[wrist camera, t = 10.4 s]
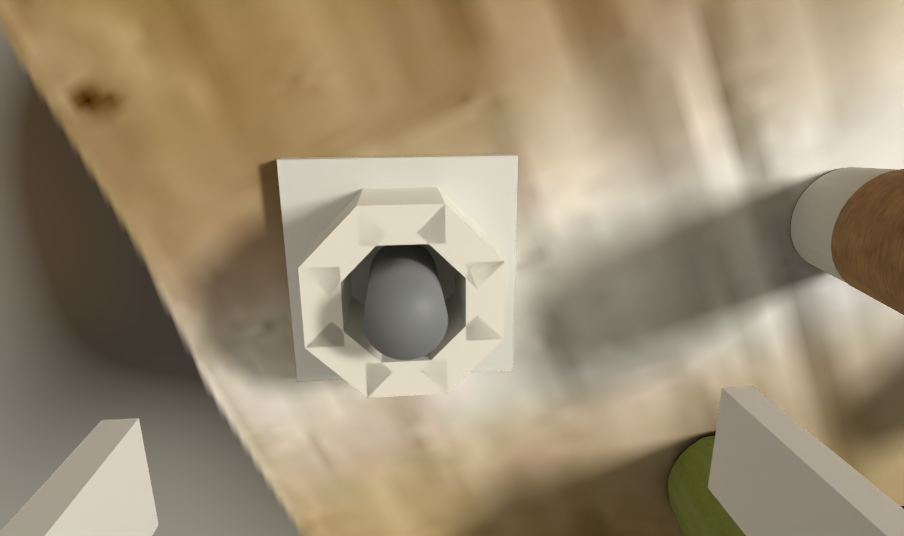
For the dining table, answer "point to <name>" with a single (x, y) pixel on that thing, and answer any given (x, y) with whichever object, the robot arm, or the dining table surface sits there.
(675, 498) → the plant pot
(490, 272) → the collar
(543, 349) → the dining table surface
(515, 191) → the white square plate
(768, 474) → the robot arm
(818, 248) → the coffee cup
